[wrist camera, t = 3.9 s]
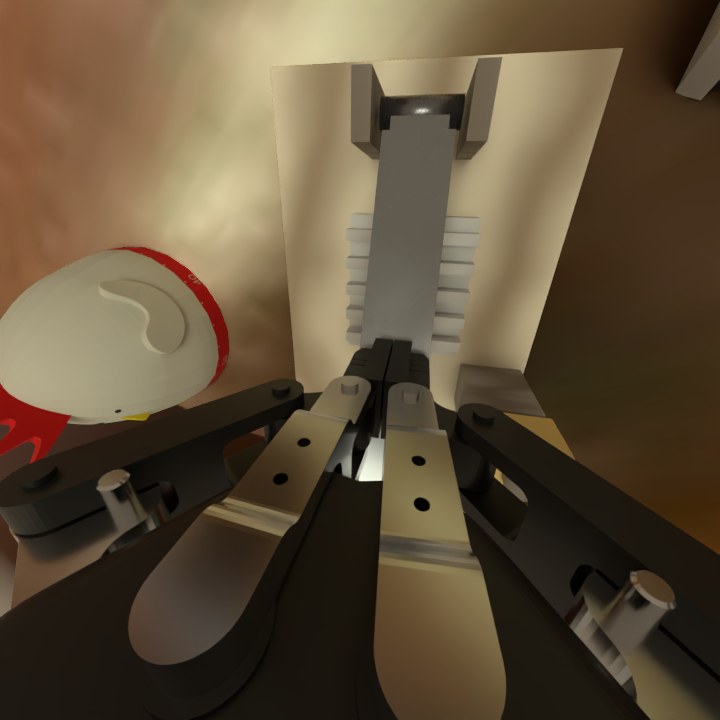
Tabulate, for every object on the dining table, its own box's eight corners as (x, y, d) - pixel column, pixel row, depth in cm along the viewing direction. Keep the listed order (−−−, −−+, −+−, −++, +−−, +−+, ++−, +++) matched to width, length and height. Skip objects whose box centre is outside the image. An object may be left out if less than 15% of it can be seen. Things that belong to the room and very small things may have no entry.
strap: (462, 108, 13) (466, 85, 12) (418, 480, 14) (418, 492, 13) (383, 110, 14) (381, 88, 13) (347, 468, 15) (341, 478, 14)
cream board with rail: (601, 65, 15) (729, -38, 9) (500, 416, 25) (524, 490, 19) (285, 80, 18) (203, 9, 12) (306, 390, 28) (268, 446, 22)
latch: (551, 418, 16) (583, 473, 13) (536, 460, 18) (560, 519, 14) (474, 408, 17) (485, 458, 14) (464, 449, 18) (472, 503, 15)
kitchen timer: (171, 407, 33) (2, 540, 20) (68, 300, 29) (-224, 376, 16) (258, 352, 28) (103, 486, 14) (146, 211, 24) (-204, 218, 11)
